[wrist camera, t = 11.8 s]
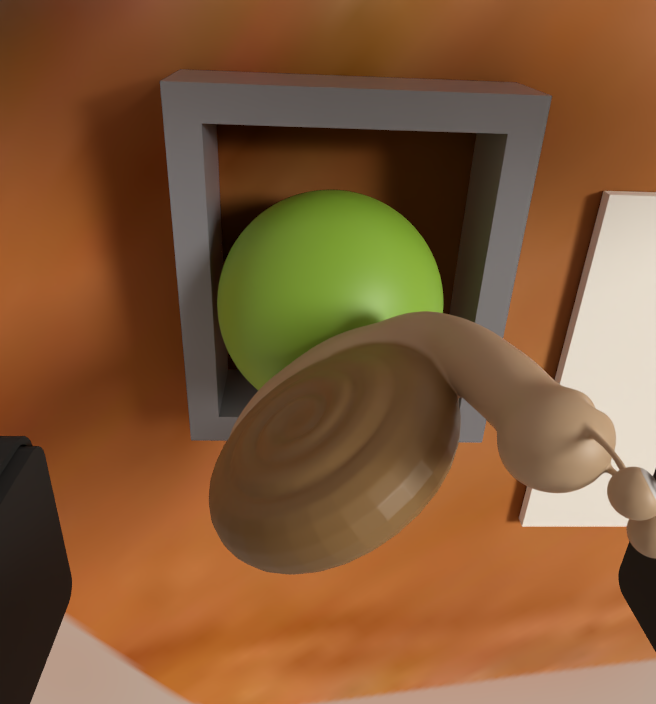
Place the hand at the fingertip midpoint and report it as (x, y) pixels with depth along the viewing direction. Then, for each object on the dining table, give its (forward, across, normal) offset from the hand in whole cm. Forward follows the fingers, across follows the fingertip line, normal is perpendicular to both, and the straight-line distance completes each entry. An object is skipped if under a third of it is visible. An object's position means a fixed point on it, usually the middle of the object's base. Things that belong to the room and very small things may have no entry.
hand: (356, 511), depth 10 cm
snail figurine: (+10, 0, -1) cm, 10 cm away
